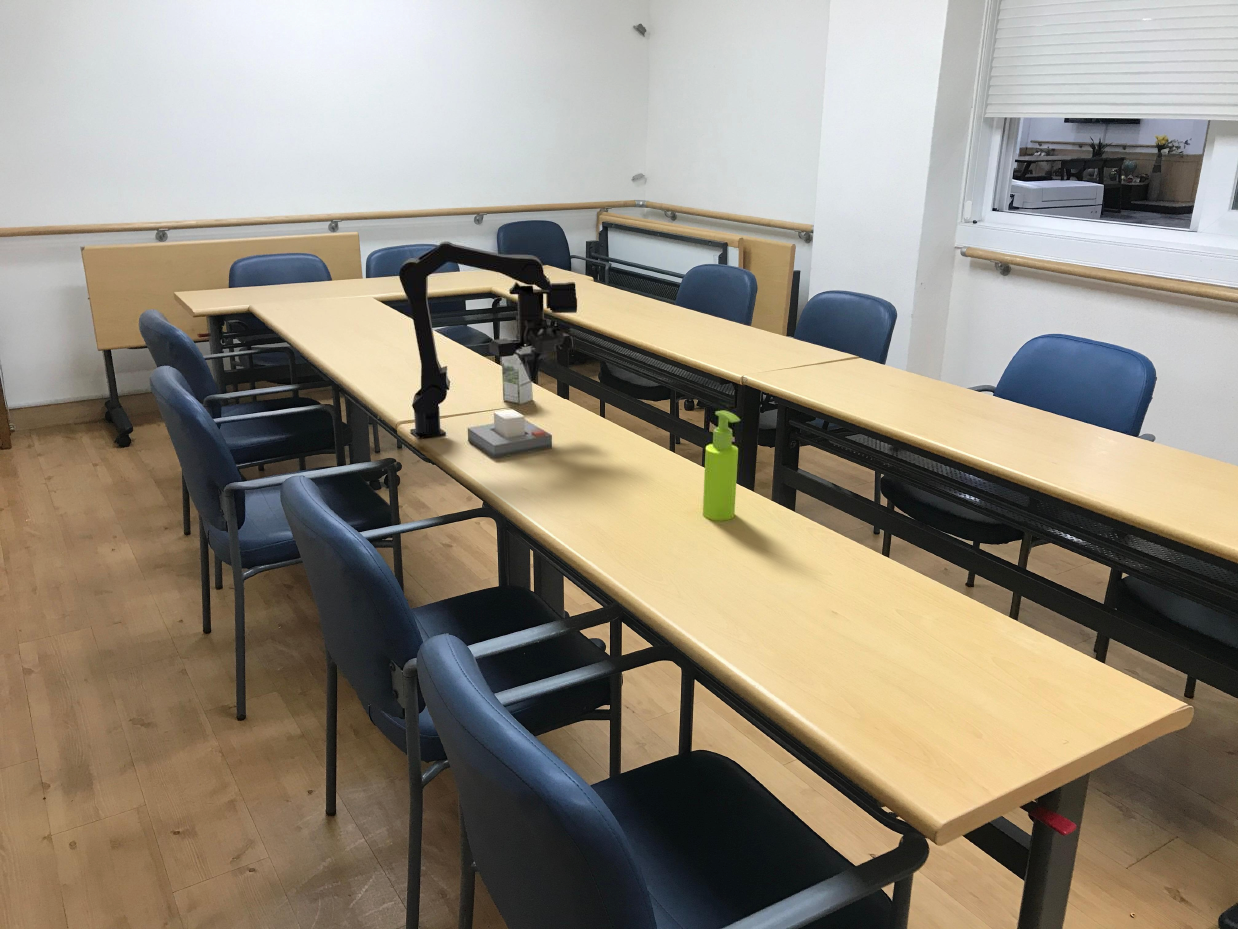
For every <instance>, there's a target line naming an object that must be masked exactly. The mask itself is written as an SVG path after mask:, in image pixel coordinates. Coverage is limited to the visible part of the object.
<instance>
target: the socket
mask: <svg viewBox="0 0 1238 929" xmlns="http://www.w3.org/2000/svg"><path fill="white" fill-rule="evenodd" d="M467 441H469V443H471V444H473V445H474V446H476V447H477V448H478V449H480V450H482V452H484V453H486V454H487V455H489V456H490V457H492V458H493V459H500V458H505V457H510V456H516V455H521V454H525V453H526V454H528V453H532V452H537V451H542V450H549V449H552V448H553V435H552V434H551V433H549V432H548V431H545V430H544V429H543V428H540V427H538V426H537V425H535V424H533V423H532V422H530V421H529V420H527V419H525V435H520V436H515V437H509V438H504V437H501V436H500V435H499V434H498V433H496V432H495V431H494V422H493V423H488V424H483V425H476V426H469V427H467Z"/></svg>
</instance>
